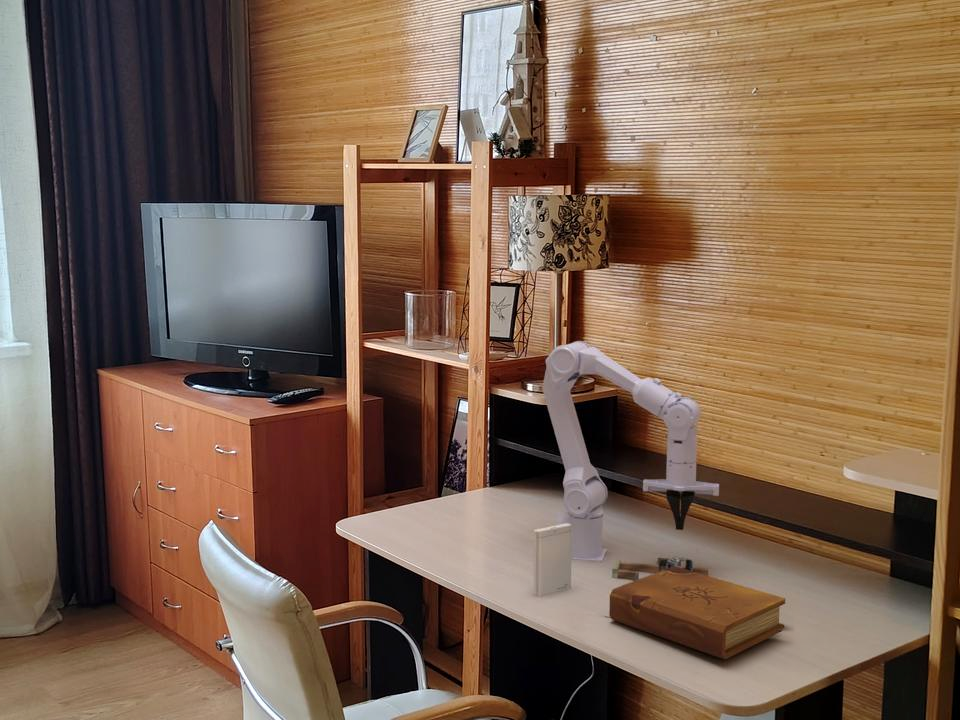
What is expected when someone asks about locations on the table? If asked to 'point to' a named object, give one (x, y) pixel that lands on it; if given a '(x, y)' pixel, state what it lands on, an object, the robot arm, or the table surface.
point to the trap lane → (644, 569)
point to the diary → (697, 611)
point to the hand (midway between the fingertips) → (679, 528)
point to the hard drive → (552, 559)
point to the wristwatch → (674, 561)
